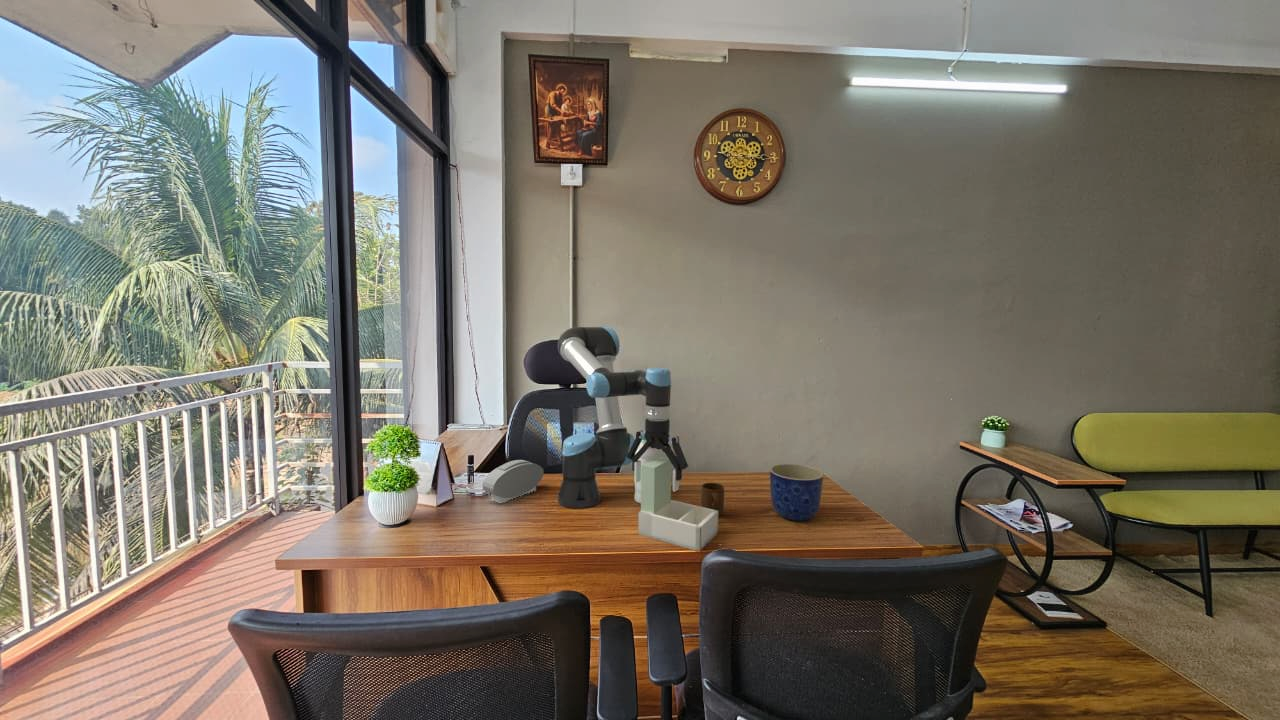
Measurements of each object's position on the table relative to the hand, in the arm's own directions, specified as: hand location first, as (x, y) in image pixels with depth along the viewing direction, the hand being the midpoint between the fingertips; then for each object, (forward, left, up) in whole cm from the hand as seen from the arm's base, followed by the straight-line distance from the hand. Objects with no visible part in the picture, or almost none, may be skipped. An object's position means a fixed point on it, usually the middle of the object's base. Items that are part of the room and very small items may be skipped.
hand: (656, 485), depth 147 cm
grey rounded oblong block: (-57, -4, -14) cm, 59 cm away
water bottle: (-14, +17, -14) cm, 26 cm away
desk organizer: (+8, 0, -13) cm, 16 cm away
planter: (+35, +33, -14) cm, 50 cm away
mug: (+12, +18, -14) cm, 25 cm away
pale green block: (0, 0, -6) cm, 6 cm away
